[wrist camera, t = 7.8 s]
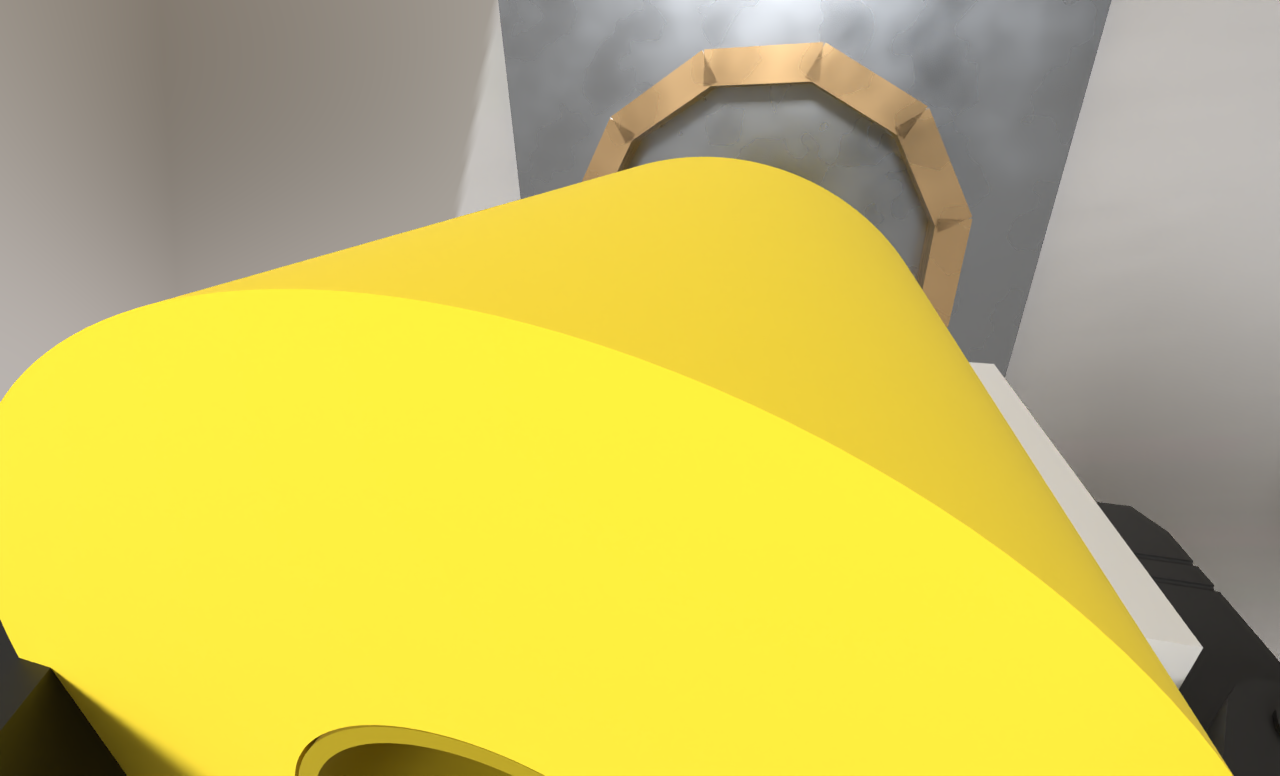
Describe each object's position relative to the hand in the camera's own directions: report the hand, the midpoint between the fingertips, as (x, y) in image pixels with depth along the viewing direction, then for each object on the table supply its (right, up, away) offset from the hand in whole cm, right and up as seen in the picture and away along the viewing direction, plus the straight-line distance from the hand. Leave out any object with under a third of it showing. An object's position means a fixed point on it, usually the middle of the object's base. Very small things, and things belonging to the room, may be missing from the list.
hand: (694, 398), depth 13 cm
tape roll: (0, 0, 0) cm, 0 cm away
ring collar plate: (+4, +6, +13) cm, 15 cm away
